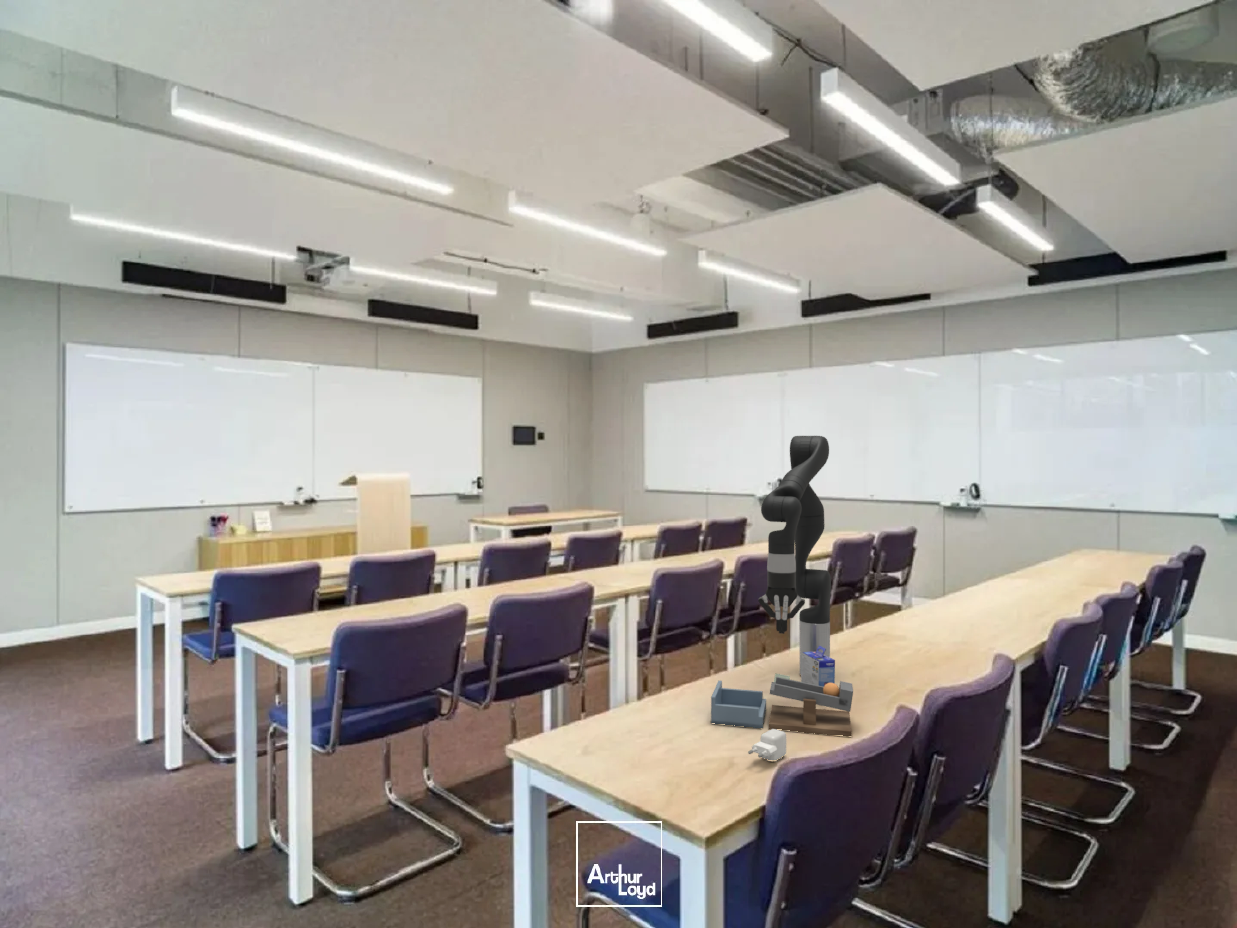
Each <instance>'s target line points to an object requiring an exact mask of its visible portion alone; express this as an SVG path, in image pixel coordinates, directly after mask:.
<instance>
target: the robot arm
mask: <svg viewBox="0 0 1237 928" xmlns="http://www.w3.org/2000/svg"><path fill="white" fill-rule="evenodd" d="M829 455H830V445H829V441H828V439H827V437H825V436H823V435H794V436H793V437H791V440H790V444H789V460H790V461H789V462H790V470H789V471H788V472H786V473H785V475H784V476H783V478H782V479H781V481H780V483H779V485H778V486H777V487H775V488H774V489H773V490H772V491H770V492H769V493H768V495H766V496H765V497H764V499H763V500H762V503H761V507H760V512H761V516H762V517H763V518H764V520H766V521H767V522H771V523H785V526H784V527H783V529H779V530H772V531H771V532H769V534H768V537H767V538H768V551H767V552H768V554H767V564H766V565H767V566H766V570H767V571H766V573H767V575H766V577H767V587H766V591H765V593H764V595H762V596H759V598H758V601H757V602H758V603H759V605H760V606H761V607H762V608H763V609H764V611H765V612H766V614H767V615H768V616H769V617H770V618H772V619H773V618H774V619H775V621H776V622H775V628H776V629H775V630H776V632H778V634H783V635H784V634H785V633H786V632H787V631H788V620H789V619H793V618H794V617H795V616H796V614H798V613H799V616H798V619H799V620H798V622H799V625H798V626H799V632H798V633H799V675H800V674H801V671H802V652H814V651H815V652H816V650H817V649H818V647H819V646H821V647H823V648H825V649H826V651H825V653H824V655H826V656H828V657H830V658H831V589H832V577H831V574H830V572H829V571H828V570H826V569H815V568H814V569H813V568H807V561H808V558H809V556H810V554H811V552H812V550H813V548H814V547H815V546H816V544H817V542H819V540H820V538H821V537H822V535H823V532H824V531H825V509H824V504H823V503H822V501H821V500H820V498H819V496H818V495H817V493H816V492H815V491H814V489H813V487H812V486H811V484H810V483H811V481H812V480H813V479H814V478H815V476H817V474H818V473H819V472H820V471H821V470H822V469H823V467H824V466H825V465H826V464H827V461H828V459H829ZM805 599H809V600H818V603H817V604H816V605H814V606H811V607H808V608H803V609H802V607H803V606H804V605H805V604H806V600H805ZM768 600H769V601H768ZM794 601H795V606H794V607H793V608H792V610H791V611H790V612H788V611H789V607H790V606H791V605H792V604H793V603H794ZM768 602H770V603H771V604H772V605H773V606H774V610H773V609H772V608H771V607H770V605H769V604H768ZM781 607H782V611H781ZM801 609H802V610H801ZM781 613H782V614H781ZM819 652H821V653H823V650H822V649H819Z"/></svg>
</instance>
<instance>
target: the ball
mask: <svg viewBox="0 0 1237 928" xmlns="http://www.w3.org/2000/svg"><path fill="white" fill-rule="evenodd" d="M823 693H824V694H826V695H831V696H836V697H838V695H839V685H838V684H836V683H835V684H834V683H827V684H826V685H825V686H824V688H823Z"/></svg>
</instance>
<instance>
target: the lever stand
mask: <svg viewBox="0 0 1237 928" xmlns="http://www.w3.org/2000/svg"><path fill="white" fill-rule="evenodd" d="M802 703H803V705H802V706H803V707H802V706H801V707H800V706H788V705H777V704H771V708H770V714H769V720H768V730H769V729H782V730H790V731H798V732H804V733H803V734H809V733H813V734H812V735H819V734H827V735H826V736H830V735H843V736H852V735H853V731H852V723H851V714H850V712H848V711H844V710H838V709H835V710H834V709H825V708H824V709H823V708H817V705H816V700H815V699H803V701H802ZM798 732H797V733H798ZM814 733H815V734H814ZM852 737H853V736H852Z"/></svg>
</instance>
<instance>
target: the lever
mask: <svg viewBox="0 0 1237 928" xmlns="http://www.w3.org/2000/svg"><path fill="white" fill-rule="evenodd" d="M823 688H824V687H823V686H818V685H813V684H809V683H804V682H801V681H798V680H794V679H791V676H790V675H787V674H786V675H785V674H780V673H775V674H774V679H773V681H771V684H770V688H769V695H771V696H776V697H780V698H786V699H789V700H790V699H791V700H794V701H800V702H803V699H815V700H816V706H822V707H825V708H831V709H835V710H838V711H848V712H849V713H850V712H851V710H852V704H853V703H852V702H853V695H854V687H853V683H852V682H847V681H842V680H839V685H838V688H839V695H838V697H836V696H831V695H826V694H824V693H823Z"/></svg>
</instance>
